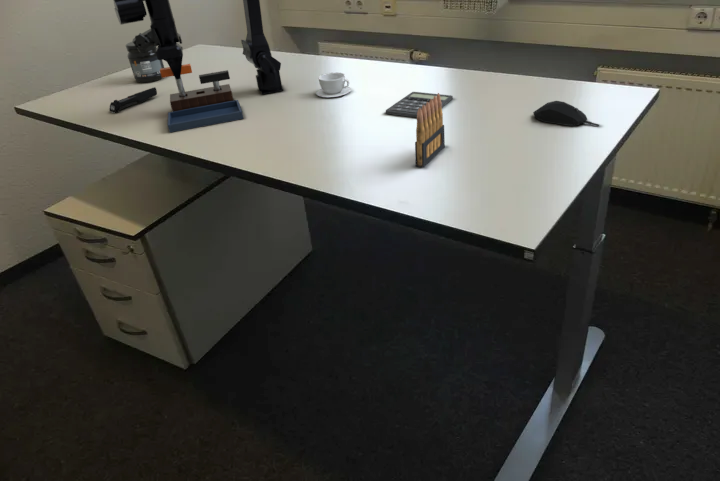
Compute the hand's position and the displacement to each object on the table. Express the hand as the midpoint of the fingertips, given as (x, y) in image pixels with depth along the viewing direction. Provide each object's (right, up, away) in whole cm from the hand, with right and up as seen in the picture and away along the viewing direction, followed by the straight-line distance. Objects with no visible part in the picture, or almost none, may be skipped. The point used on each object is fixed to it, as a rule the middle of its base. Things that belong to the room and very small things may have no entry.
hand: (178, 77), depth 148 cm
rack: (+5, -7, +6) cm, 11 cm away
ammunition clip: (+64, -27, -34) cm, 77 cm away
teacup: (+42, -2, +7) cm, 43 cm away
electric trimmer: (-18, -4, +15) cm, 24 cm away
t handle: (+1, -5, +3) cm, 6 cm away
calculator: (+65, -10, -9) cm, 66 cm away
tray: (+8, -12, -2) cm, 14 cm away
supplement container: (-22, +11, +38) cm, 45 cm away
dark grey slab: (+10, -6, +7) cm, 13 cm away
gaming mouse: (+96, -17, -25) cm, 100 cm away
